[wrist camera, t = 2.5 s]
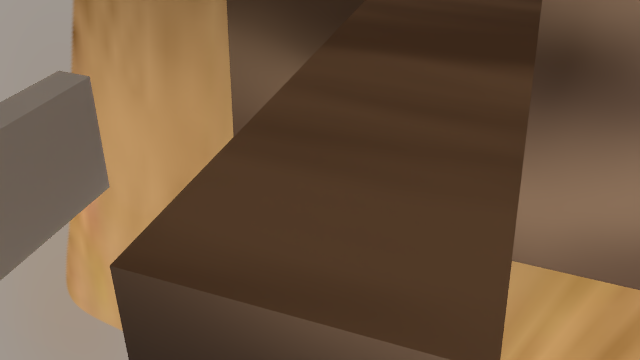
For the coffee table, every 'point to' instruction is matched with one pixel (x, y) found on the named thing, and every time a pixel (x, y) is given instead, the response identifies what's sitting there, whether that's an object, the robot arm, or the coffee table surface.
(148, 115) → the coffee table surface
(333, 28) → the cover
